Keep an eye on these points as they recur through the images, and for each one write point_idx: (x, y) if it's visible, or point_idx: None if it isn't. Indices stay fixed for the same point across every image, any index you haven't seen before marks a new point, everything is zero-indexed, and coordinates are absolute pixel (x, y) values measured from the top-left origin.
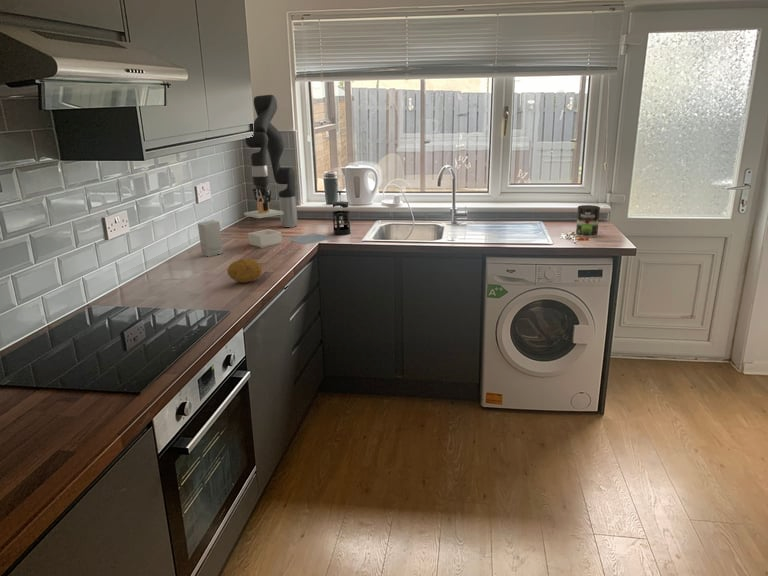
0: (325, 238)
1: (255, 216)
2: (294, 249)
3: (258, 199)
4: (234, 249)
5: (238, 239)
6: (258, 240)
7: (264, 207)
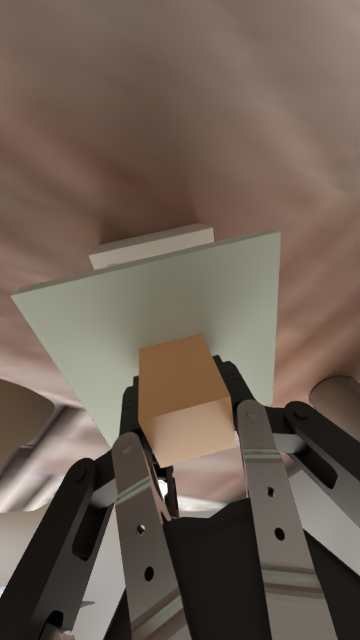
0: None
1: (72, 277)
2: (24, 340)
3: (240, 436)
4: (148, 118)
5: (317, 215)
6: (113, 246)
7: (133, 399)
